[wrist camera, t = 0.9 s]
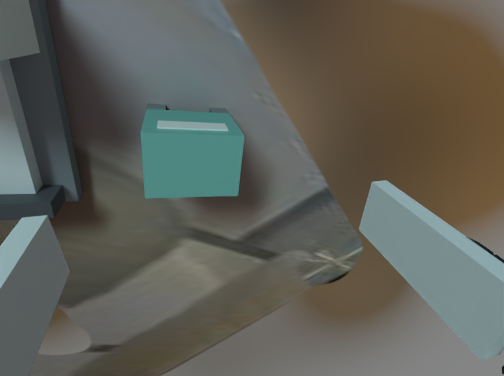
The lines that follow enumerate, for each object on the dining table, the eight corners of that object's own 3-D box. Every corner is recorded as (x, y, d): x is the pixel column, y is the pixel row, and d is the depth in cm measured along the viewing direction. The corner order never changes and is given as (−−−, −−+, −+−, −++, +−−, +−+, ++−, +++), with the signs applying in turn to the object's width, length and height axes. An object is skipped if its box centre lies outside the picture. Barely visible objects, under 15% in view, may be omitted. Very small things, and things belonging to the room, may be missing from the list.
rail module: (222, 156, 29) (237, 195, 22) (150, 155, 27) (145, 198, 20) (225, 107, 27) (244, 134, 20) (147, 102, 25) (140, 130, 18)
